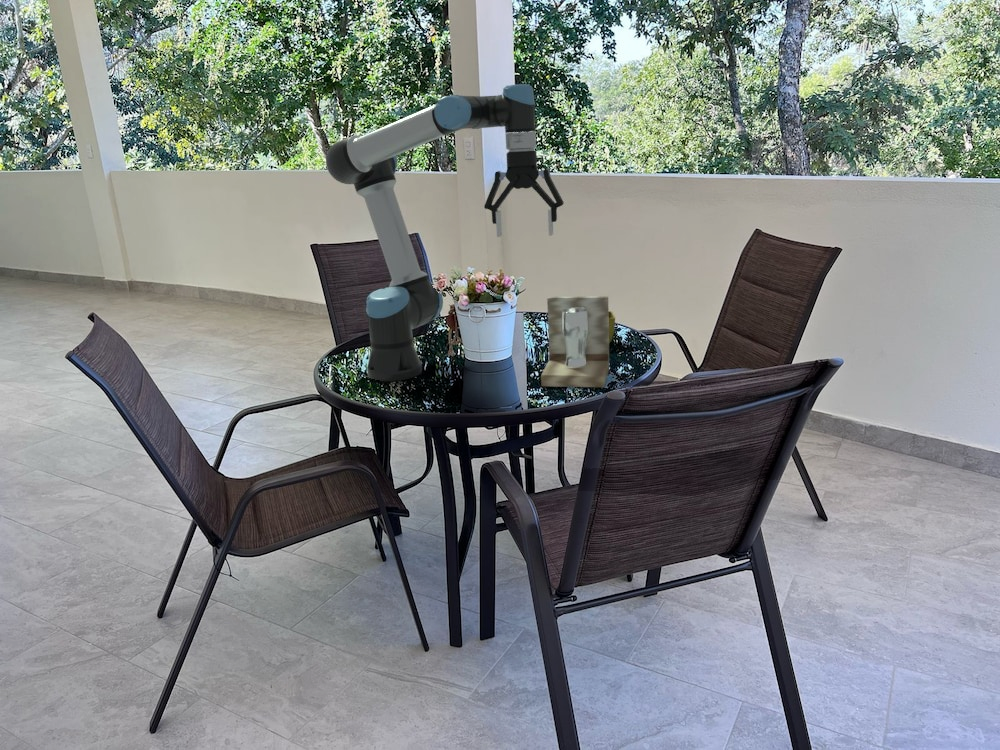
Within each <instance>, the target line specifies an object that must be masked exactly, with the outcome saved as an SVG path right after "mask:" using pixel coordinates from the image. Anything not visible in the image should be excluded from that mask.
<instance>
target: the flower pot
mask: <svg viewBox="0 0 1000 750" xmlns="http://www.w3.org/2000/svg"><path fill="white" fill-rule="evenodd" d="M615 325H616V316H615V314H614V313H613V311H612V310H609V344H610V343H611V342H612V339H613V337H614V334H615V333H614V332H615Z"/></svg>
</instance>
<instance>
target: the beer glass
mask: <svg viewBox="0 0 1000 750" xmlns="http://www.w3.org/2000/svg"><path fill="white" fill-rule="evenodd" d="M588 332H589V321H588V311H587V309H586V308H582V307H571V308H565V309H563V310H562V334H563V340H564V344H565V349H566V359H565V367H566V368H570V369H581V368H585V367H587V366H588V362H587V357H586V346H587V340H588Z"/></svg>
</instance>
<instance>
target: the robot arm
mask: <svg viewBox="0 0 1000 750" xmlns="http://www.w3.org/2000/svg"><path fill="white" fill-rule="evenodd" d="M502 89H503V90H502V94H498V95H484V96H483V95H478V96H477V95H476V96H475V95H458V94H451V95H445V96H443V97H441V98H440V99H439V100H438V101H437V103H436V104H434V105H431V106H429V107H427V108H424V109H421V110H419V111H417V112H415V113H412V114H410V115H408V116H406V117H403V118H401V119H399V120H397V121H394V122H392V123H389V124H387V125H385V126H383V127H380V128H378V129H376V130H373V131H372V132H369V133H366V134H364V135H362V136H359V135H351V136H349V137H347V138H344V139H341V140H338V141H336V142H334V143H333V144H332V145H331V146H330V147H329V149H327V152H326V156H325V165H326V168H327V171H328V173H329V175H331V177H332V178H333V179H334V180H335V181H337V182H338V183H340V184H344V185H353V186H354V189H355V191H356V194H357V195H358V196H361V197H362V198H363V199H364V201H365V204H366V208H367V210H368V213H369V216H370V220H371V221H372V225H373V227H374V231H375V233H376V237H377V239H378V242H379V245H380V248H381V251H382V254H383V257H384V259H385V263H386V266H387V269H388V272H389V275H390V278H391V281H390V282H389V285H388V287H384V288H379V289H377V290H374V291H372V292H370V293H369V295H368V296H367V298H366V308H365V310H366V311H365V312H366V314H367V315H366V316H367V323H368V333H369V340H370V352H369V353H370V354H369V358H368V362H367V367H366V369H367V377H368V379H370V378H372V379H375V380H374V381H376V380H380V381H379V382H397V381H404V380H409V379H412V378H415V377H417V376H419V375H421V374H422V372H423V368H422V366H423V365H422V362H421V360H420V357H419V355H418V353H417V350H416V348H415V346H414V339H413V337H414V336H413V330H414V329H417V328H419V327H422V326H424V325H427V324H430V323H431V322H432V321H433V320H436V319H437V317H439V316H440V314H441V311H442V310H443V307H444V306H443V305H444V297H443V293H442V294H440V293H438V292H437V291H436V289H435V288H433V286H432V285H435V283H434V282H432V281H430V279H429V275H428V273H427V272H425V271H423V270H421V267H420V265H419V261H418V259H417V255H416V253H415V250H414V247H413V244H412V240H411V238H410V235H409V231H408V229H407V226H406V223H405V220H404V217H403V214H402V211H401V208H400V205H399V202H398V199H397V196H396V193H395V190H394V187H395V185H396V184H397V179H396V176H395V174H396V172H397V167H398V159H397V156H398V155H399V156H400V155H401V154H403V153H405V152H408V151H411V150H413V149H416V148H419V147H420V146H422V145H424V144H425V145H426V144H427V143H430V142H433V141H435V140H438V139H440V138H442V137H445V136H447V135H450V134H453V133H455V132H458V131H460V130H464V129H471V130H476V129H477V130H478V129H486V128H487V129H488V128H495V127H496V128H498V127H500V128H502V127H504V129H505V131H504V132H505V149H506V150H507V152H506V172H505V171H500V170H498V171H496V172H495V173H494V181H493V184H492V186H491V189H490V192H489V194H488V196H487V199H486V201H485V203H484V206H483V207H484V209H485V210H489V211H491V221H492V224H493V225H494V224H495V225H496V237H497V238H500V237H502V236H503V229H502V211H501V209H500V210H499V208H500V207H501V205H502V203H503V202H504V201H506V199H507V197H508V196H509V194H510V193H511V192H512V190H513V189H516V190H520V189H530V188H532V189H533V190H534V191H535V192H536V193H537V194H538V195H539V196H540V198H541V199H542V200H543V201H544V202H545V204H547V205H548V207H549V208H548V209H547V222H548V223H547V225H548V236H553V235H554V223H556V222H557V220H558V213H557V212H558V211H557V209H558V208H560V207H561V206H563V205H564V201H563V197H562V196H561V195H560V193H559V191H558V189H557V186H556V185H555V183H554V182H553V180H552V177H551V172H550V169H549V168H545V169H542V170H539V169H538V164H537V163H538V161H537V159H538V158H537V151H536V150H535V149H536V148H537V141H536V140H537V137H536V121H535V120H536V117H535V115H536V113H535V110H536V109H535V107H536V106H535V105H536V102H535V95H534V88H533V86H532V85H530V84H527V83H525V84H523V83H521V84H520V83H519V84H510V85H509V84H508V85H505V86H504V87H503V88H502ZM539 176H541V179H544V181H545V183H546V185H547V187H548V190H549V191H550V193H551V195H552V197H553V199H554V200H555V201H554V200H553V199H552V197H550V195H549V194H548V193H547V192H546V191H545V189H543V188H542V186H541V185H540V183H539V182H537V179H538V178H539ZM505 178H506V179H507V181H508V182H509V183H508V184H507V185H506V187H505V188H504V189H503V191H502V192H501V194H500V195H499V196H498V198H497V199H496V201H495V200H494V199H495V197H496V195H497V192H498V190H499V187H500V185H501V182H502V181H503V180H504V179H505ZM493 201H495V202H494V204H493ZM372 379H371V380H372Z"/></svg>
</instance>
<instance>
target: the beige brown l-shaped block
mask: <svg viewBox="0 0 1000 750" xmlns="http://www.w3.org/2000/svg"><path fill="white" fill-rule="evenodd" d="M546 301H547V304H546V305H547V324H548V325H547V326H548V327H547V328H548V351H549V353H548V362H547V364H546V365H545V367H544V369H543V371H542V373H541V375H540V381H541V383H540V384H541V387H557V388H558V387H561V388H562V387H563V388H564V387H567V388H568V387H569V388H572V387H573V388H605V387H604V386H606V383H607V379H608V376H609V371H610V343H609V311H610V310H609V295H608V296H607V295H605V296H604V295H603V296H602V295H601V296H597V295H596V296H595V295H594V296H591V295H590V296H547V298H546ZM571 307H582V308H586V309H587V311H588V321H589V332H588V340H587V346H586V357H587V362H588V366H587V367H585V368H581V369H570V368H566V367H565V359H566V349H565V344H564V340H563V334H562V310H563V309H565V308H571Z"/></svg>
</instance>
